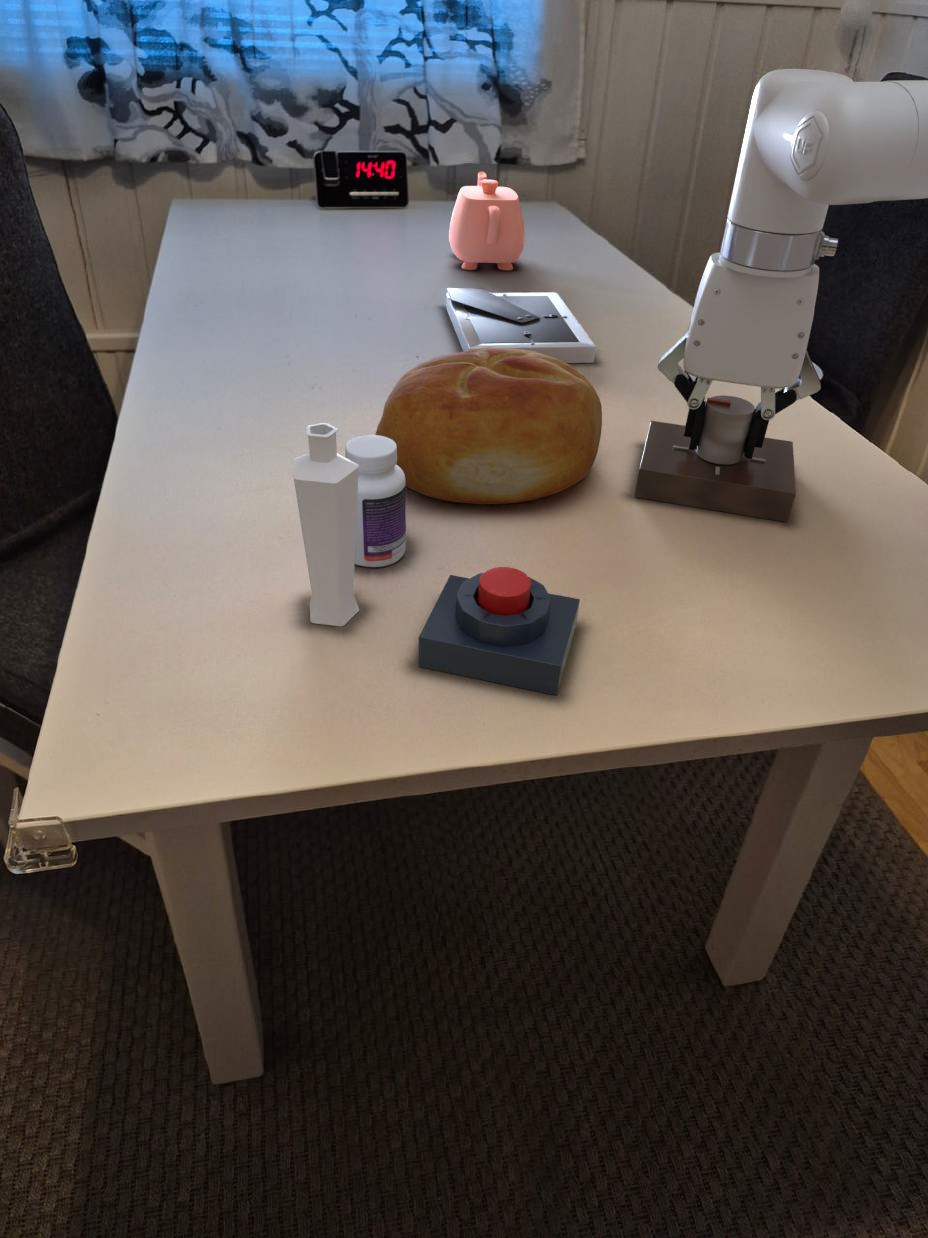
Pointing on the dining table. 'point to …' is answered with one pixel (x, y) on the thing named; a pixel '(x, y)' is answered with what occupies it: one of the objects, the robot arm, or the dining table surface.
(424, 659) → the button box
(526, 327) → the picture frame
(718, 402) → the knob
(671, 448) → the dial panel
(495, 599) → the button
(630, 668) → the dining table surface
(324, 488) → the perfume bottle
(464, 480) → the bread
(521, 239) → the teapot
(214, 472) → the dining table surface
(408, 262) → the dining table surface
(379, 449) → the pill bottle
